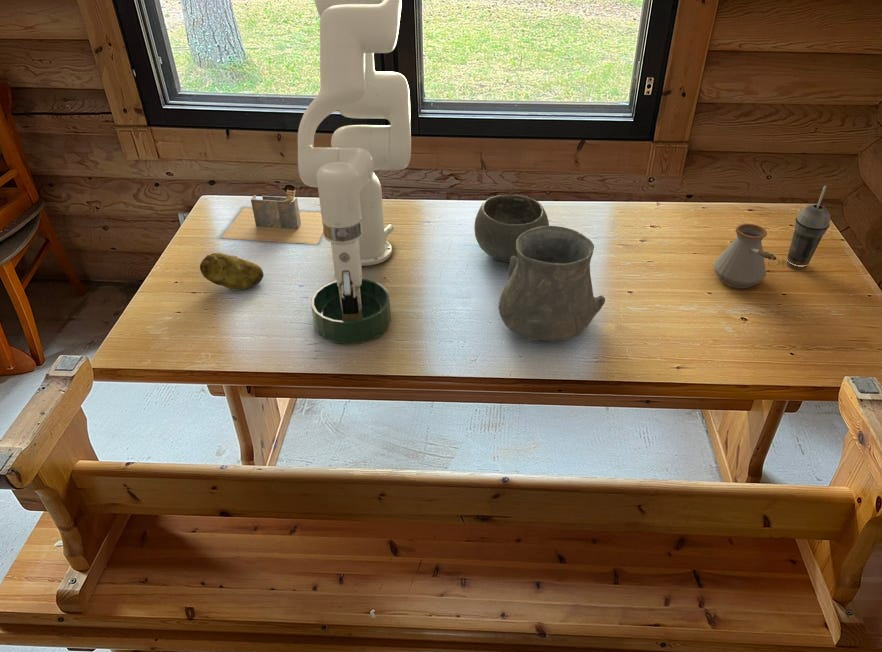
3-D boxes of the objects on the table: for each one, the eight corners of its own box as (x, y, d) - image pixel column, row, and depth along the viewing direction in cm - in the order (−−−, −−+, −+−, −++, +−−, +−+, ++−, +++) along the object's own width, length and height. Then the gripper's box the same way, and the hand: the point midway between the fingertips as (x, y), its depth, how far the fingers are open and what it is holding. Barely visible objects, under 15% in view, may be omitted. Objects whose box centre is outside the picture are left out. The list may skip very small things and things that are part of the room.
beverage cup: (779, 269, 164) (807, 192, 151) (780, 254, 169) (807, 178, 157) (812, 275, 162) (843, 197, 149) (812, 260, 167) (842, 184, 154)
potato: (254, 298, 155) (247, 268, 150) (200, 292, 156) (192, 262, 151) (268, 278, 161) (262, 248, 156) (216, 273, 163) (209, 243, 158)
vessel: (609, 358, 139) (625, 273, 126) (499, 356, 139) (504, 272, 126) (593, 297, 155) (606, 217, 142) (495, 295, 156) (499, 216, 143)
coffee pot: (705, 265, 166) (721, 208, 156) (754, 266, 165) (773, 210, 155) (727, 317, 149) (747, 258, 140) (781, 319, 149) (805, 260, 139)
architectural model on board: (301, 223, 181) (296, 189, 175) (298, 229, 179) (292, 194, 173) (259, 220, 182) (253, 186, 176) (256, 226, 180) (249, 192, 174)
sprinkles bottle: (360, 312, 150) (355, 258, 141) (365, 324, 146) (360, 270, 138) (339, 316, 148) (333, 263, 140) (344, 328, 145) (338, 274, 136)
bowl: (528, 231, 178) (532, 186, 170) (558, 267, 165) (564, 219, 157) (463, 242, 174) (464, 196, 166) (489, 279, 161) (491, 231, 153)
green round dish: (328, 297, 155) (325, 274, 151) (398, 304, 153) (397, 281, 149) (304, 341, 143) (300, 317, 139) (380, 349, 141) (378, 326, 137)
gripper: (362, 249, 127) (369, 327, 138) (361, 206, 140) (368, 281, 152) (321, 251, 126) (332, 330, 138) (324, 207, 139) (333, 283, 151)
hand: (350, 303), depth 145 cm, fingers open, 5 cm apart
